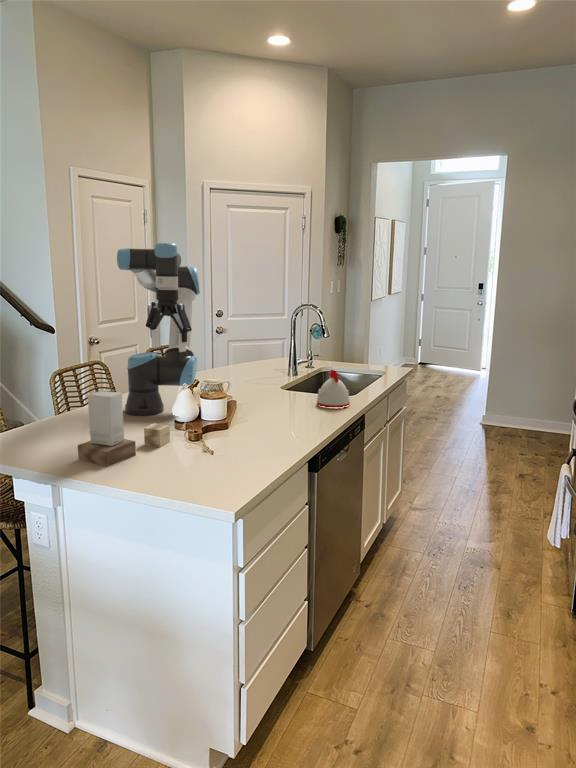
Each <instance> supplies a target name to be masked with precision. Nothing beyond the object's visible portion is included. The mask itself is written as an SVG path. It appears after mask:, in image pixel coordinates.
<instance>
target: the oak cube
mask: <svg viewBox="0 0 576 768" xmlns="http://www.w3.org/2000/svg"><path fill="white" fill-rule="evenodd" d="M170 429H171V428H170V425H169V424H161V423H154V422H153V423H151V424H150V425H147V426H145V427H143V436H144V437H143V438H144V440H143V442H144V446H148V447H153V448H162V447H164V446H166V445H167V444H169V443H171V434H170V433H171V432H170Z"/></svg>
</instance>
